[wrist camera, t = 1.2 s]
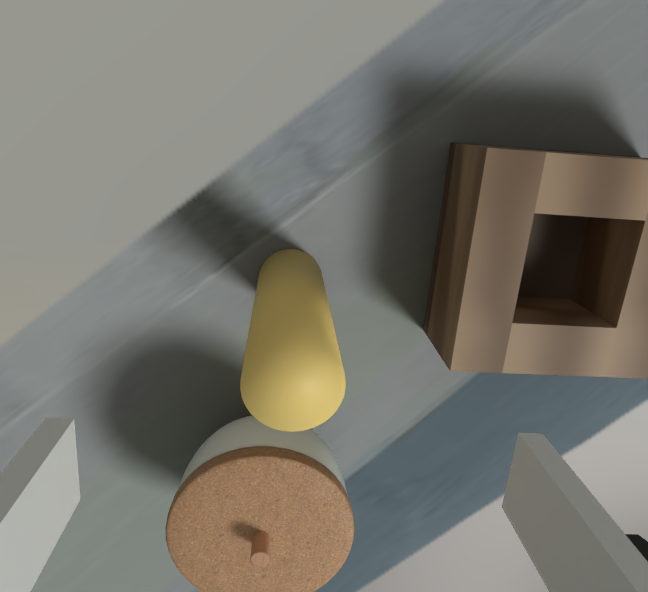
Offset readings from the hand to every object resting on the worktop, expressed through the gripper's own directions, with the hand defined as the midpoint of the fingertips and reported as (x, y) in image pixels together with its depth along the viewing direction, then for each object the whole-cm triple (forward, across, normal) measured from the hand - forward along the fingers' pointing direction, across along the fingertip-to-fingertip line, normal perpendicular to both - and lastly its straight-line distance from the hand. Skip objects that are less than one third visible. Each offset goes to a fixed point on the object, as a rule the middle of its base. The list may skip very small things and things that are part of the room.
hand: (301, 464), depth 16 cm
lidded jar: (+19, -1, -13) cm, 23 cm away
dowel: (+19, 0, 0) cm, 19 cm away
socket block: (+18, +15, +3) cm, 24 cm away
